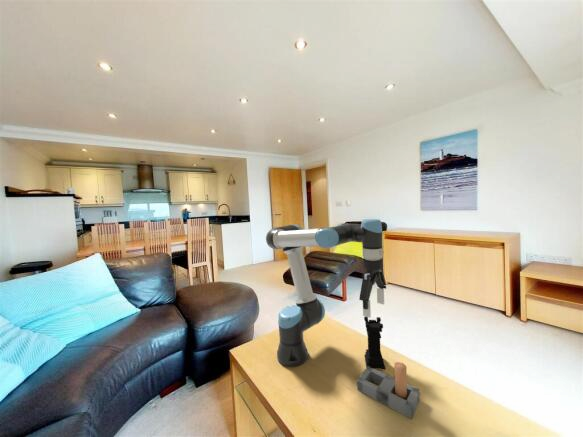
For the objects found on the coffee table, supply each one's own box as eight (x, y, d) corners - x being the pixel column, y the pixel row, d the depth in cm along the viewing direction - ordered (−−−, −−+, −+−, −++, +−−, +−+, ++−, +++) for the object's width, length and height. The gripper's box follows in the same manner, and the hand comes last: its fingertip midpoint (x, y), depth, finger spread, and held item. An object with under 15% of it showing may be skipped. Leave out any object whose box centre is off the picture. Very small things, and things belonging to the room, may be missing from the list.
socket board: (357, 389, 93) (356, 380, 93) (368, 374, 101) (367, 366, 100) (411, 419, 80) (411, 408, 79) (419, 399, 87) (419, 389, 87)
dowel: (393, 402, 87) (392, 366, 86) (397, 395, 90) (396, 360, 88) (405, 408, 84) (404, 371, 83) (408, 400, 87) (407, 365, 86)
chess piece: (385, 369, 103) (384, 326, 102) (366, 367, 105) (365, 325, 103) (382, 357, 111) (380, 316, 109) (364, 356, 113) (363, 316, 111)
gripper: (368, 267, 81) (370, 325, 83) (393, 252, 100) (394, 300, 101) (348, 264, 86) (350, 319, 88) (376, 250, 105) (377, 296, 106)
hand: (374, 309), depth 95 cm, fingers open, 13 cm apart
